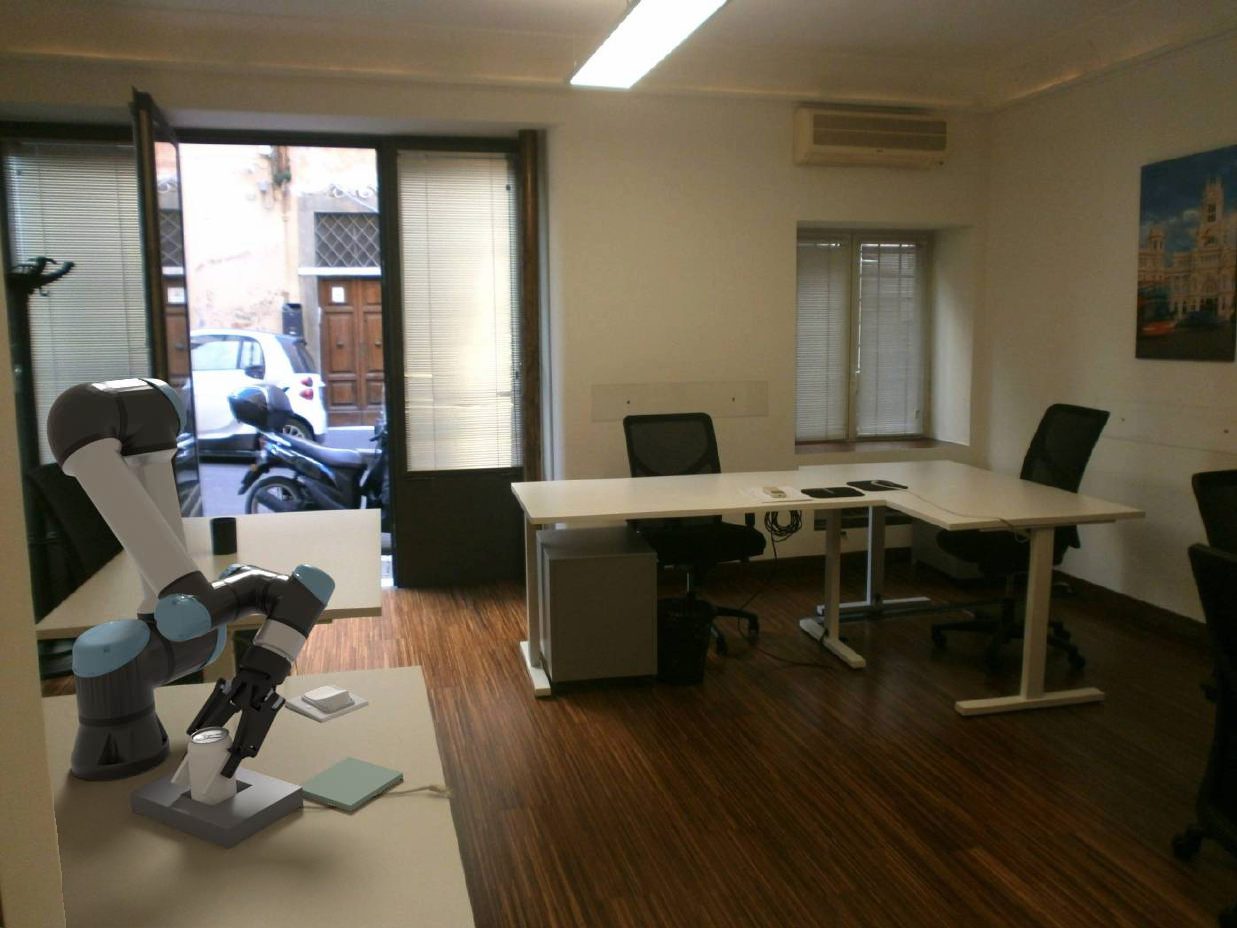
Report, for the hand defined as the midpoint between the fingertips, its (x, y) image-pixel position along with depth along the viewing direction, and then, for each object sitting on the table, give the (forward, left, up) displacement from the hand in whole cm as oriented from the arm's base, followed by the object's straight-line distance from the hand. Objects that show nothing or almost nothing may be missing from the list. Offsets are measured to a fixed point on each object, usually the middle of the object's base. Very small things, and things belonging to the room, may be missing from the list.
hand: (193, 790), depth 146 cm
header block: (0, +4, -5) cm, 6 cm away
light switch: (-14, +41, -6) cm, 44 cm away
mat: (+13, +19, -5) cm, 24 cm away
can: (0, +4, -5) cm, 6 cm away
